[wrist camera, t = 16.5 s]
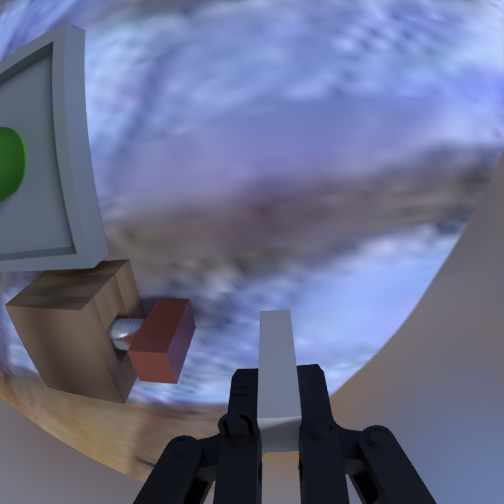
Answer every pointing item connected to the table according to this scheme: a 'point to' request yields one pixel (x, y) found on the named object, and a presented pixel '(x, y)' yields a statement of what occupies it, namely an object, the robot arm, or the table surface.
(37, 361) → the mount
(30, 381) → the table surface
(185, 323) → the pin
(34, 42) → the tray
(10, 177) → the cup
